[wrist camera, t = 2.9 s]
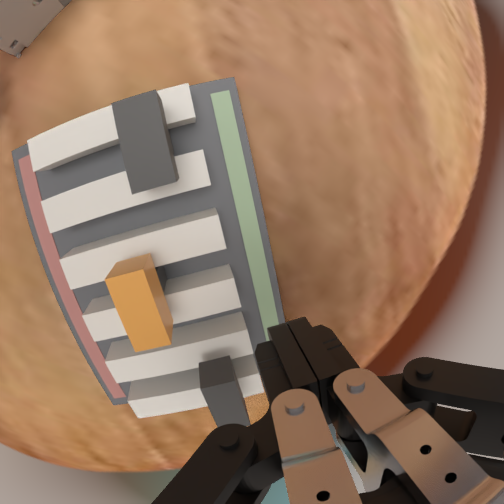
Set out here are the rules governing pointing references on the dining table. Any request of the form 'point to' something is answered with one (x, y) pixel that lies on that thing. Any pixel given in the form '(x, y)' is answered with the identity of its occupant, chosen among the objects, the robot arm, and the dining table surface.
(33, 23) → the circuit breaker
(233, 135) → the breaker panel
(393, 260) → the dining table surface
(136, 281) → the handle
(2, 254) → the dining table surface
